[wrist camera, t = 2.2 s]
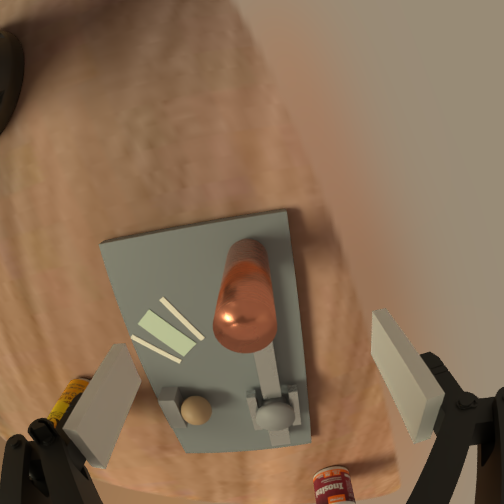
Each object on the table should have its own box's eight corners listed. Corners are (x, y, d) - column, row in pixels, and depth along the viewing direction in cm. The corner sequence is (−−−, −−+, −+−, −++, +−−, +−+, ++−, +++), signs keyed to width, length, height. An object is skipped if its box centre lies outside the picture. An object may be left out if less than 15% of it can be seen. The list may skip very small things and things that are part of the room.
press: (103, 240, 29) (81, 257, 25) (285, 208, 28) (291, 220, 24) (187, 447, 40) (182, 472, 35) (310, 436, 39) (314, 462, 34)
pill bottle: (338, 460, 41) (350, 515, 31) (353, 472, 43) (365, 521, 32) (305, 474, 43) (312, 528, 32) (322, 485, 44) (330, 534, 34)
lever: (301, 431, 36) (311, 504, 25) (259, 437, 36) (260, 510, 26) (276, 233, 28) (291, 292, 17) (212, 243, 28) (188, 306, 17)
